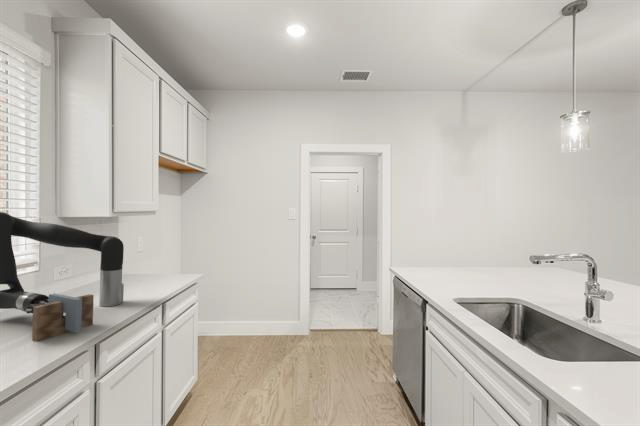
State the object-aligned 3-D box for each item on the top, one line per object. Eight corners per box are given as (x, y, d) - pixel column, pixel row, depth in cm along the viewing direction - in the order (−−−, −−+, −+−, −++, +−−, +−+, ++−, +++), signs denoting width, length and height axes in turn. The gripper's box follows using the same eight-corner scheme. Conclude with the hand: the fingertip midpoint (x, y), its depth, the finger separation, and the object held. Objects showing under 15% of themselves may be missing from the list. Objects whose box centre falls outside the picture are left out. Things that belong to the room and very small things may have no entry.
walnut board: (88, 323, 137) (89, 294, 137) (92, 324, 136) (93, 294, 136) (32, 340, 119) (33, 306, 118) (36, 341, 118) (37, 307, 118)
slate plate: (53, 323, 131) (54, 293, 131) (81, 330, 125) (82, 298, 125) (47, 325, 129) (48, 294, 129) (75, 332, 124) (76, 299, 124)
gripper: (12, 297, 128) (41, 303, 122) (52, 289, 141) (80, 295, 134) (11, 317, 128) (40, 324, 122) (51, 307, 141) (79, 313, 135)
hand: (61, 308), depth 128 cm, fingers closed on slate plate, 2 cm apart
